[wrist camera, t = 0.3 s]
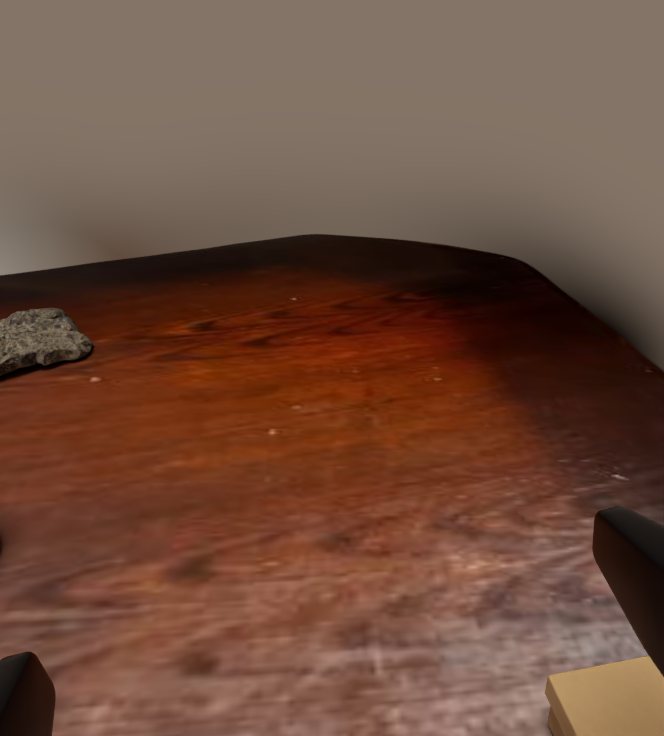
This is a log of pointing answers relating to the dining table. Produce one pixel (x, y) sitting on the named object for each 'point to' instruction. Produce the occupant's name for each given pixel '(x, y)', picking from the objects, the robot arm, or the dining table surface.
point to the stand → (608, 700)
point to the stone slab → (39, 339)
